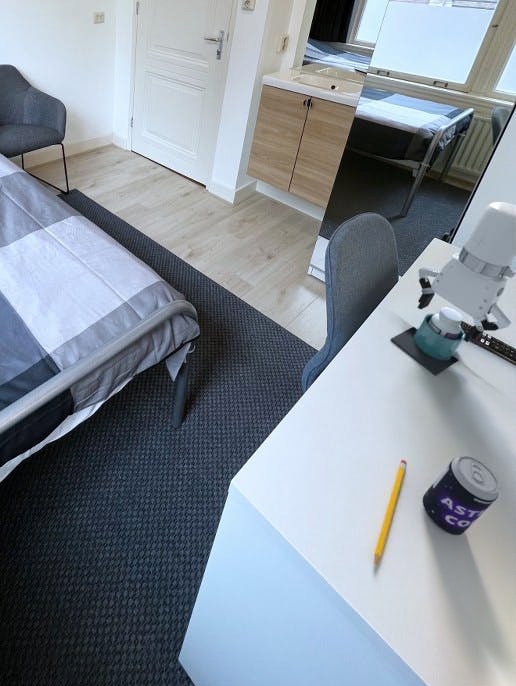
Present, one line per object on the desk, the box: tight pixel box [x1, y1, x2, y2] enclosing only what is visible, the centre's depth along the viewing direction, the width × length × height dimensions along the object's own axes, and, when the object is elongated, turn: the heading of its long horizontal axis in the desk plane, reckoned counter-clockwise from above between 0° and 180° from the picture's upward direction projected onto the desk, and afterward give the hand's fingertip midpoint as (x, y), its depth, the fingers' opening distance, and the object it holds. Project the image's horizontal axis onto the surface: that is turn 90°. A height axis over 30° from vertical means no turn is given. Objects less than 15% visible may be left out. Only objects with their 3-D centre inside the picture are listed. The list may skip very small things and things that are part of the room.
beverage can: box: [422, 455, 500, 536], centre depth 63 cm, size 6×6×12 cm
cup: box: [413, 313, 466, 360], centre depth 93 cm, size 8×8×6 cm
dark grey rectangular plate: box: [390, 326, 459, 376], centre depth 95 cm, size 10×14×1 cm
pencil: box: [373, 459, 408, 568], centre depth 65 cm, size 1×19×1 cm, turn 138°
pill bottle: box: [428, 306, 464, 340], centre depth 92 cm, size 5×5×10 cm
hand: (444, 322), depth 92 cm, fingers open, 9 cm apart
